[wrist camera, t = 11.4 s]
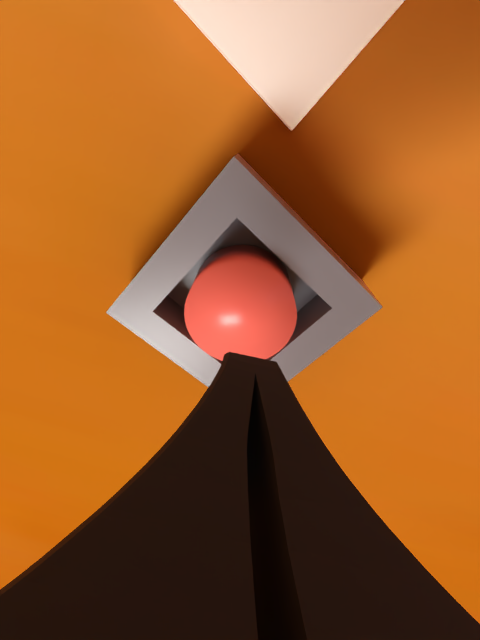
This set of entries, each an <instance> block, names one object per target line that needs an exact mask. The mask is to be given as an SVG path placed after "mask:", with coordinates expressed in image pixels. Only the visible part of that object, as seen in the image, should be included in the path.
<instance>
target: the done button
mask: <svg viewBox="0 0 480 640" xmlns="http://www.w3.org/2000/svg"><path fill="white" fill-rule="evenodd" d="M184 318H185V323H186V327H187V329H188V332H189V334H190V336H191V337H192V339H193V340H194V342H195V343H196V344H197V345H198V346H199V347H200V348H201V349H202V350H203V351H204V352H206V353H207V354H209V355H210V356H212V357H214V358H216V359H219V360H221V361H223V357H224V354H226V353H228V352H233V353H238V354H243V355H247V356H252V357H257V358H261V359H267V358H269V357H271V356H273V355H275V354H276V353H277V352H279V351H280V350H281V349H282V348H283V347H284V346H285V345H286V344H287V342H288V341H289V340H290V338H291V336H292V334H293V332H294V330H295V326H296V321H297V309H296V303H295V299H294V295H293V291H292V286H291V282H290V278H289V275H288V273H287V271H286V269H285V267H284V266H283V264H282V263H281V262H280V261H279V260H278V259H277V258H276V257H275V256H274V255H273V254H271V253H269V252H268V251H266V250H264V249H262V248H259V247H256V246H251V245H233V246H229V247H226V248H223V249H221V250H219V251H217V252H215V253H214V254H212V255H211V256H210V257H209V258H208V259H207V260H206V261H205V262H204V263H203V264H202V266H201V268H200V269H199V271H198V273H197V276H196V278H195V280H194V282H193V284H192V287H191V289H190V291H189V293H188V296H187V298H186V302H185V308H184Z"/></svg>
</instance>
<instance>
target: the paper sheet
mask: <svg viewBox="0 0 480 640" xmlns="http://www.w3.org/2000/svg"><path fill="white" fill-rule="evenodd" d="M174 1H175V3H176V4H177V5H178V6H179V7H180V8H181V9H182V10H183V11H184V13H185V14H186V15H187V16H188V17H189V18H190V19H191V20H192V21H193V23H194V24H195V25H196V26H197V27H198V28H199V29H200V30H201V31H202V33H203V34H204V35H205V36H206V37H207V38H208V39H209V40H210V41H211V43H212V44H213V45H214V46H215V47H216V48H217V49H218V50H219V52H220V53H221V54H222V55H223V56H224V57H225V58H226V59H227V60H228V62H229V63H230V64H231V65H232V66H233V67H234V68H235V69H236V70H237V72H238V73H239V74H240V75H241V76H242V77H243V78H244V79H245V80H246V82H247V83H248V84H249V85H250V86H251V87H252V88H253V89H254V91H255V92H256V93H257V94H258V95H259V96H260V97H261V98H262V99H263V101H264V102H265V103H266V104H267V105H268V106H269V107H270V108H271V109H272V111H273V112H274V113H275V114H276V115H277V116H278V117H279V118H280V119H281V121H282V122H283V123H284V124H285V125H286V126H287V127H288V128H289V129H290V131H292V130H293V129H294V128H295V127H296V126H297V124H298V123H299V122H300V121H301V120H302V119H303V117H304V116H305V115H306V114H307V113H308V112H309V111H310V109H311V108H312V107H313V106H314V105H315V104H316V102H317V101H318V100H319V99H320V98H321V97H322V96H323V94H324V93H325V92H326V91H327V90H328V89H329V87H330V86H331V85H332V84H333V83H334V82H335V80H336V79H337V78H338V77H339V76H340V75H341V74H342V72H343V71H344V70H345V69H346V68H347V67H348V65H349V64H350V63H351V62H352V61H353V60H354V59H355V57H356V56H357V55H358V54H359V53H360V52H361V50H362V49H363V48H364V47H365V46H366V45H367V44H368V42H369V41H370V40H371V39H372V38H373V37H374V35H375V34H376V33H377V32H378V31H379V30H380V29H381V27H382V26H383V25H384V24H385V23H386V22H387V20H388V19H389V18H390V17H391V16H392V15H393V14H394V12H395V11H396V10H397V9H398V8H399V7H400V5H401V4H402V3H403V2H404V1H405V0H174Z"/></svg>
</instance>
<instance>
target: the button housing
mask: <svg viewBox="0 0 480 640" xmlns="http://www.w3.org/2000/svg"><path fill="white" fill-rule="evenodd" d="M233 245H251V246H256V247H259V248H262V249H264V250H266V251H268V252H269V253H271V254H273V255H274V256H275V257H276V258H277V259H278V260H279V261H280V262H281V263H282V264H283V266H284V267H285V269H286V271H287V273H288V275H289V278H290V282H291V286H292V291H293V295H294V299H295V303H296V309H297V321H296V326H295V330H294V332H293V334H292V336H291V338H290V340H289V341H288V342H287V344H286V345H285V346H284V347H283V348H282V349H281V350H280V351H279V352H277V353H276V354H275V355H273V356H271V357H269V358H267V359H266V360H271V361H275V362H277V363H278V365H279V367H280V369H281V370H282V372H283V374H284V376H285V378H286V380H287V382H288V381H289V380H290V379H292V378H293V377H294V376H295V375H297V374H298V373H299V372H301V371H302V370H303V369H304V368H306V367H307V366H308V365H309V364H311V363H312V362H313V361H315V360H316V359H317V358H318V357H320V356H321V355H322V354H323V353H325V352H326V351H327V350H329V349H330V348H331V347H332V346H334V345H335V344H336V343H338V342H339V341H340V340H341V339H343V338H344V337H345V336H346V335H348V334H349V333H350V332H352V331H353V330H354V329H355V328H357V327H358V326H359V325H360V324H362V323H363V322H364V321H366V320H367V319H368V318H369V317H371V316H372V315H373V314H374V313H376V312H377V311H378V310H380V309H381V308H382V306H381V304H380V303H379V302H378V300H377V299H376V298H375V296H374V295H373V294H372V292H371V291H370V290H369V288H368V287H367V286H366V284H365V283H364V282H363V280H362V279H361V278H360V277H359V276H358V275H357V274H356V273H355V272H354V271H353V270H352V269H351V268H350V267H349V266H348V265H347V264H346V263H345V262H344V261H343V260H342V259H341V258H340V257H339V256H338V255H337V254H336V253H335V252H334V251H333V250H332V249H331V248H330V247H329V246H328V245H327V244H326V243H325V242H324V241H323V240H322V238H321V237H320V236H319V235H318V234H317V233H316V232H315V231H314V230H313V229H312V228H311V227H310V226H309V225H308V224H307V223H306V222H305V221H304V220H303V219H302V218H301V217H300V216H299V215H298V214H297V213H296V212H295V211H294V210H293V209H292V208H291V207H290V206H289V205H288V204H287V203H286V202H285V201H284V200H283V199H282V198H281V197H280V196H279V195H278V194H277V193H276V192H275V190H274V189H273V188H272V187H271V186H270V185H269V184H268V183H267V182H266V181H265V180H264V179H263V178H262V177H261V176H260V175H259V174H258V173H257V172H256V171H255V170H254V169H253V168H252V167H251V166H250V165H249V164H248V163H247V162H246V161H245V160H244V159H243V158H242V157H241V156H240V155H239V154H237V155H235V156H234V157H233V158H232V159H231V160H230V162H229V163H228V164H227V165H226V166H225V168H224V169H223V170H222V171H221V173H220V174H219V175H218V176H217V177H216V179H215V180H214V181H213V182H212V184H211V185H210V186H209V187H208V188H207V190H206V191H205V192H204V193H203V195H202V196H201V197H200V198H199V199H198V201H197V202H196V203H195V204H194V206H193V207H192V208H191V209H190V210H189V212H188V213H187V214H186V215H185V217H184V218H183V219H182V220H181V221H180V223H179V224H178V225H177V226H176V228H175V229H174V230H173V231H172V232H171V234H170V235H169V236H168V237H167V239H166V240H165V241H164V242H163V243H162V245H161V246H160V247H159V248H158V250H157V251H156V252H155V253H154V254H153V256H152V257H151V258H150V259H149V261H148V262H147V263H146V264H145V265H144V267H143V268H142V269H141V270H140V272H139V273H138V274H137V275H136V276H135V278H134V279H133V280H132V281H131V283H130V284H129V285H128V286H127V287H126V289H125V290H124V291H123V292H122V294H121V295H120V296H119V297H118V298H117V300H116V301H115V302H114V303H113V305H112V306H111V307H110V308H109V310H108V311H107V312H106V313H107V314H109V315H110V316H112V317H113V318H114V319H116V320H117V321H118V322H120V323H121V324H123V325H124V326H125V327H127V328H128V329H129V330H131V331H132V332H133V333H135V334H136V335H138V336H139V337H140V338H142V339H143V340H144V341H146V342H147V343H149V344H150V345H151V346H153V347H154V348H155V349H157V350H158V351H160V352H161V353H162V354H164V355H165V356H166V357H168V358H169V359H171V360H172V361H173V362H175V363H176V364H177V365H179V366H180V367H182V368H183V369H184V370H186V371H187V372H188V373H190V374H191V375H192V376H194V377H195V378H197V379H198V380H199V381H201V382H202V383H203V384H205V385H206V386H208V387H209V386H210V385H211V383H212V381H213V380H214V378H215V376H216V374H217V372H218V370H219V368H220V366H221V364H222V361H221V360H219V359H216V358H214V357H212V356H210V355H209V354H207V353H206V352H204V351H203V350H202V349H201V348H200V347H199V346H198V345H197V344H196V343H195V342H194V340H193V339H192V337H191V336H190V334H189V332H188V329H187V327H186V323H185V318H184V308H185V302H186V298H187V296H188V293H189V291H190V289H191V287H192V284H193V282H194V280H195V278H196V276H197V273H198V271H199V269H200V268H201V266H202V264H203V263H204V262H205V261H206V260H207V259H208V258H209V257H210V256H211V255H212V254H214V253H215V252H217V251H219V250H221V249H223V248H226V247H229V246H233Z"/></svg>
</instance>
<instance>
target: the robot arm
mask: <svg viewBox="0 0 480 640" xmlns="http://www.w3.org/2000/svg"><path fill="white" fill-rule="evenodd" d="M0 640H480V624H479V623H478V622H477V621H476V620H475V619H474V618H473V617H472V616H471V615H470V614H469V613H468V612H467V611H466V610H465V609H464V608H463V607H462V606H461V605H460V604H459V603H458V602H457V601H456V600H455V599H454V598H453V597H452V596H451V595H450V594H449V593H448V592H447V591H446V590H445V589H444V588H443V587H442V586H441V585H440V583H439V582H438V581H437V580H436V579H435V578H434V577H433V576H432V575H431V574H430V573H429V572H428V571H427V570H426V569H425V568H424V567H423V566H422V564H421V563H420V562H419V561H418V560H417V559H416V558H415V557H414V556H413V554H412V553H411V552H410V551H409V550H408V549H407V548H406V547H405V546H404V544H403V543H402V542H401V541H400V540H399V539H398V538H397V537H396V536H395V534H394V533H393V532H392V531H391V530H390V529H389V528H388V526H387V525H386V524H385V523H384V522H383V521H382V519H381V518H380V517H379V516H378V515H377V514H376V512H375V511H374V510H373V509H372V507H371V506H370V505H369V504H368V502H367V501H366V500H365V499H364V497H363V496H362V495H361V494H360V492H359V491H358V490H357V489H356V487H355V486H354V485H353V484H352V482H351V481H350V480H349V478H348V477H347V476H346V474H345V473H344V472H343V470H342V469H341V468H340V466H339V465H338V463H337V462H336V461H335V459H334V458H333V456H332V455H331V453H330V452H329V450H328V449H327V447H326V446H325V445H324V443H323V441H322V440H321V438H320V437H319V435H318V434H317V432H316V431H315V429H314V427H313V426H312V424H311V422H310V421H309V419H308V417H307V416H306V414H305V412H304V411H303V409H302V407H301V406H300V404H299V402H298V400H297V398H296V397H295V395H294V393H293V391H292V389H291V387H290V386H289V384H288V382H287V380H286V378H285V376H284V374H283V372H282V370H281V369H280V367H279V365H278V363H277V362H275V361H271V360H266V359H261V358H257V357H252V356H247V355H243V354H238V353H233V352H228V353H226V354H224V357H223V361H222V364H221V366H220V368H219V370H218V372H217V374H216V376H215V378H214V380H213V381H212V383H211V385H210V386H209V388H208V389H207V391H206V392H205V394H204V395H203V397H202V398H201V400H200V401H199V403H198V404H197V405H196V407H195V408H194V409H193V410H192V412H191V413H190V414H189V416H188V417H187V418H186V419H185V421H184V422H183V423H182V424H181V426H180V427H179V428H178V429H177V431H176V432H175V433H174V434H173V435H172V436H171V438H170V439H169V440H168V441H167V442H166V443H165V444H164V445H163V447H162V448H161V449H160V450H159V451H158V452H157V453H156V454H155V455H154V456H153V457H152V458H151V459H150V460H149V462H148V463H147V464H146V465H145V466H144V467H143V468H142V469H141V470H140V471H139V472H137V473H136V474H135V475H134V476H133V477H132V478H131V479H130V480H129V481H128V482H127V483H126V484H125V485H124V486H123V487H122V488H121V489H120V490H119V491H118V492H117V493H116V494H115V495H114V496H113V497H111V498H110V499H109V500H108V501H107V502H106V503H105V504H104V505H103V506H102V507H100V508H99V509H98V510H97V511H96V512H95V513H94V514H92V515H91V516H90V517H89V518H88V519H87V520H85V521H84V522H83V523H82V524H81V525H79V526H78V527H77V528H76V529H75V530H74V531H72V532H71V533H70V534H69V535H68V536H66V537H65V538H64V539H63V540H62V541H61V542H59V543H58V544H57V545H56V546H55V547H53V548H52V549H51V550H50V551H49V552H48V553H46V554H45V555H44V556H43V557H42V558H40V559H39V560H38V561H37V562H35V563H34V564H33V565H32V566H30V567H29V568H28V569H27V570H25V571H24V572H23V573H22V574H20V575H19V576H18V577H16V578H15V579H14V580H12V581H11V582H10V583H9V584H7V585H6V586H5V587H3V588H2V589H1V590H0Z"/></svg>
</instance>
